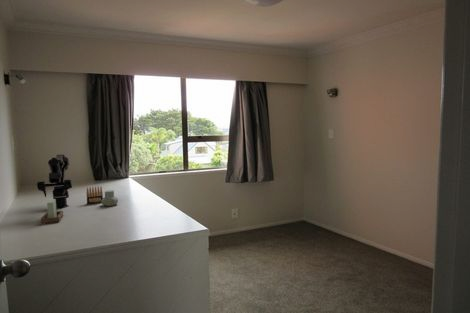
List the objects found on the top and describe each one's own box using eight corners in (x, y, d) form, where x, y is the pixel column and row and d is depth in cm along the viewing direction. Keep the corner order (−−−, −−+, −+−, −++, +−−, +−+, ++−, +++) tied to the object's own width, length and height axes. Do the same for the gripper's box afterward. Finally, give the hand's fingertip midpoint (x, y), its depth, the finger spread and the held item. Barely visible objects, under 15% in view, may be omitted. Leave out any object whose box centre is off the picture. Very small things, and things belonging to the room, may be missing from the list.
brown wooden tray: (46, 217, 198) (46, 212, 198) (63, 215, 202) (63, 210, 201) (41, 224, 184) (40, 219, 183) (59, 222, 187) (59, 217, 186)
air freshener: (100, 207, 222) (99, 192, 221) (102, 204, 230) (101, 190, 229) (118, 205, 224) (117, 191, 224) (118, 203, 232) (118, 189, 232)
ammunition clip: (86, 204, 231) (85, 187, 230) (86, 203, 233) (85, 187, 232) (103, 202, 236) (102, 186, 235) (103, 202, 237) (102, 185, 236)
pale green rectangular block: (51, 216, 196) (49, 199, 195) (56, 215, 197) (55, 199, 196) (48, 220, 188) (47, 203, 187) (54, 219, 189) (53, 202, 188)
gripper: (36, 168, 200) (33, 189, 191) (70, 166, 207) (69, 186, 197) (39, 179, 208) (37, 200, 199) (72, 177, 215) (71, 197, 205)
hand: (54, 196), depth 200 cm, fingers open, 9 cm apart
